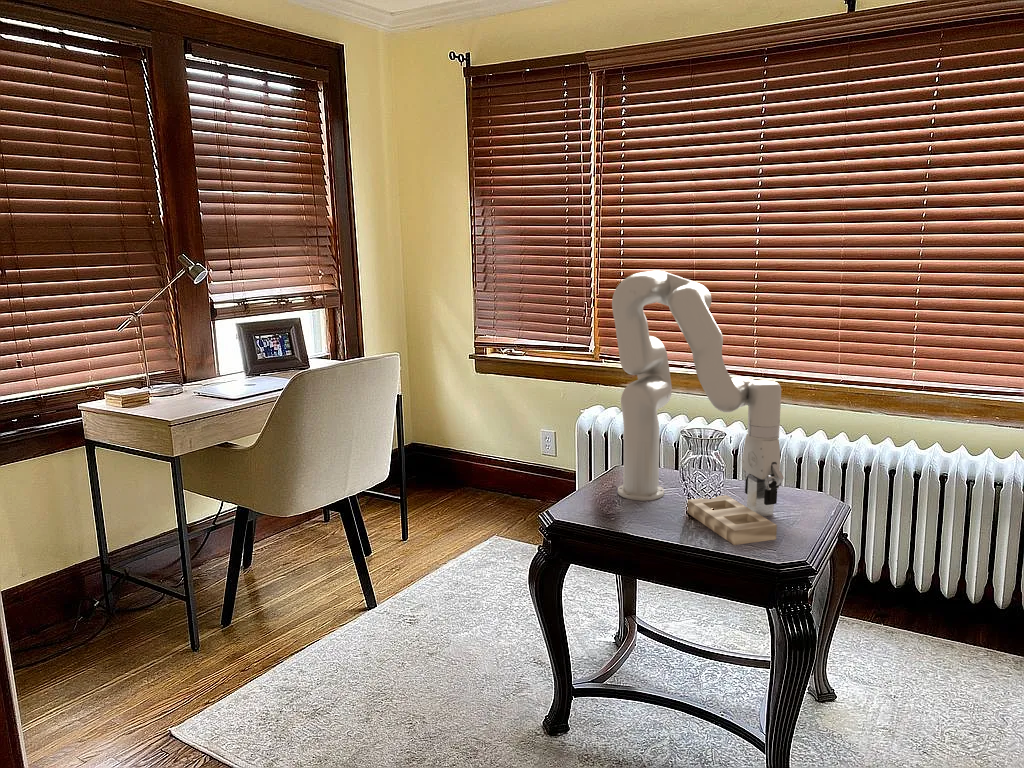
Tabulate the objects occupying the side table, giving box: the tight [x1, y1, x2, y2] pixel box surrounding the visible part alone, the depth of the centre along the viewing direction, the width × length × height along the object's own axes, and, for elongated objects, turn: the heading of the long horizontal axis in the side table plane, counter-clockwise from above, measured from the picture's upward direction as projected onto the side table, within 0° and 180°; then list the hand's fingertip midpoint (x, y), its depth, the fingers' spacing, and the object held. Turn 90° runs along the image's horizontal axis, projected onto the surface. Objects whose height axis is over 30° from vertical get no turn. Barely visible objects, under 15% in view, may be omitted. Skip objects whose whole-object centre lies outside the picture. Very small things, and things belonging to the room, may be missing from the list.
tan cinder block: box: [687, 495, 778, 546], centre depth 193 cm, size 22×11×4 cm, turn 16°
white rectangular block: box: [746, 474, 775, 517], centre depth 201 cm, size 4×5×10 cm
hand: (760, 498), depth 201 cm, fingers open, 7 cm apart
